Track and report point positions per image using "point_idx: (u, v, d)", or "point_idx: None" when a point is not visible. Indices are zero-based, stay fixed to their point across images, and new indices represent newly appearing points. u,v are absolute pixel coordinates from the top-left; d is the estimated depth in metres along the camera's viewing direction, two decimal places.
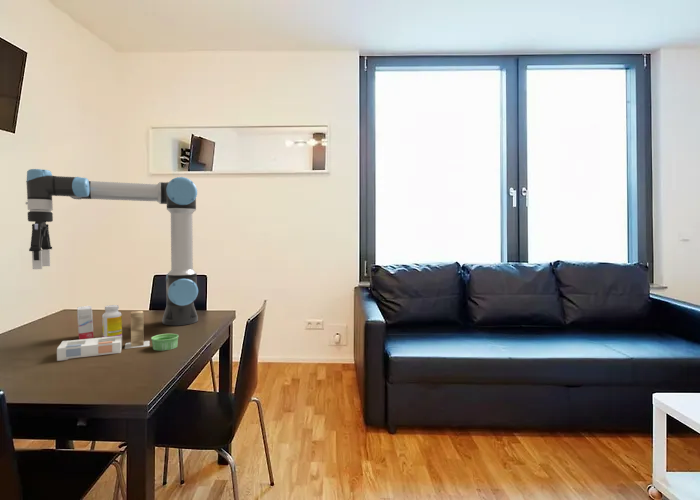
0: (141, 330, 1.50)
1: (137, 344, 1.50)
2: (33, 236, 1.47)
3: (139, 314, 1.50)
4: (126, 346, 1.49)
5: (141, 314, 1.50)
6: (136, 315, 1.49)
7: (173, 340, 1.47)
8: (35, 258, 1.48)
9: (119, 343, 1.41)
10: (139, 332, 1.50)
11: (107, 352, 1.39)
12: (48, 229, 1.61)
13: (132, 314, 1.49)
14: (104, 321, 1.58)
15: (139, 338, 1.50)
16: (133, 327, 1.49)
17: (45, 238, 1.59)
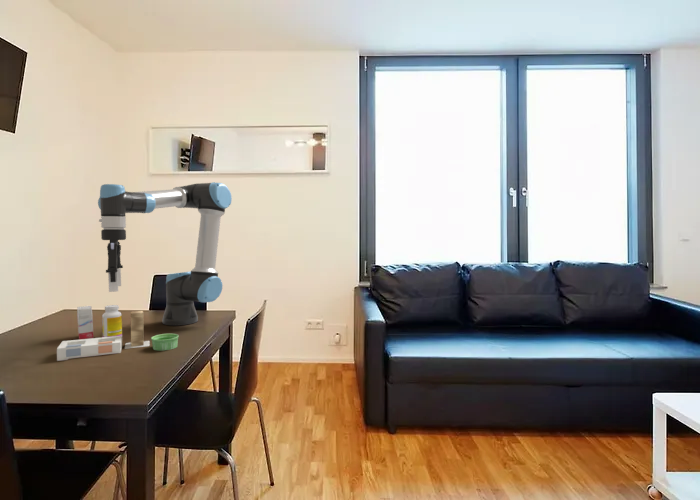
0: (141, 330, 1.50)
1: (137, 344, 1.50)
2: (110, 256, 1.38)
3: (139, 314, 1.50)
4: (126, 346, 1.49)
5: (141, 314, 1.50)
6: (136, 315, 1.49)
7: (173, 340, 1.47)
8: (112, 280, 1.38)
9: (119, 343, 1.41)
10: (139, 332, 1.50)
11: (107, 352, 1.39)
12: None
13: (132, 314, 1.49)
14: (104, 321, 1.58)
15: (139, 338, 1.50)
16: (133, 327, 1.49)
17: (117, 257, 1.49)
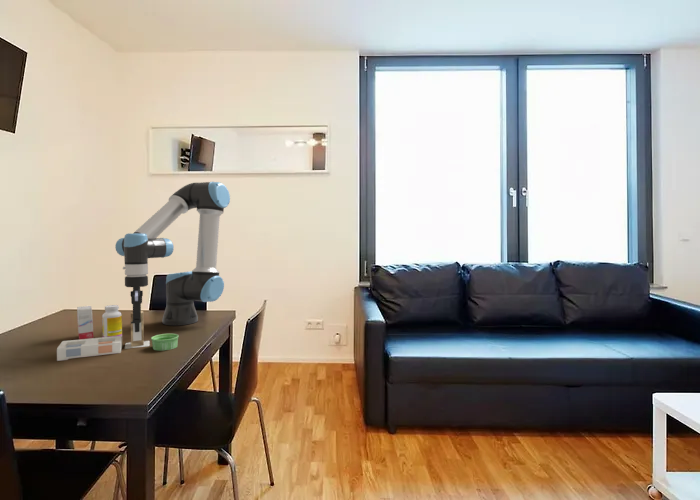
0: (141, 330, 1.50)
1: (137, 344, 1.50)
2: (134, 309, 1.45)
3: None
4: (126, 346, 1.49)
5: (141, 314, 1.50)
6: None
7: (173, 340, 1.47)
8: (136, 330, 1.48)
9: (119, 343, 1.41)
10: None
11: (107, 352, 1.39)
12: None
13: (132, 314, 1.49)
14: (104, 321, 1.58)
15: None
16: None
17: None
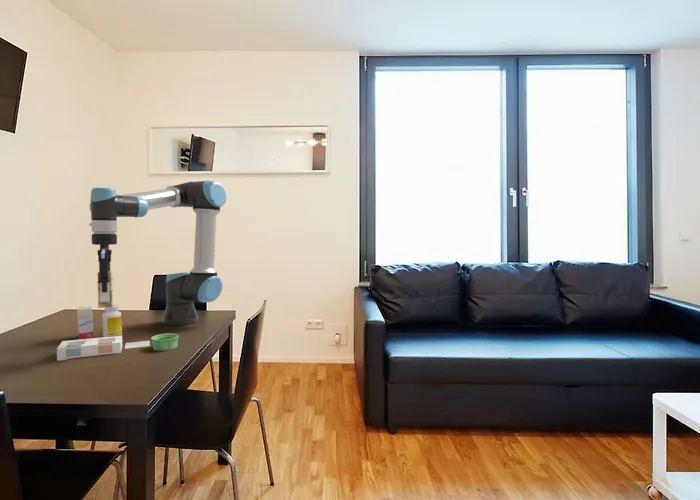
0: (109, 291, 1.42)
1: (105, 306, 1.41)
2: (101, 267, 1.37)
3: None
4: (126, 346, 1.49)
5: (109, 274, 1.41)
6: None
7: (173, 340, 1.47)
8: (103, 290, 1.39)
9: (119, 343, 1.41)
10: None
11: (107, 352, 1.39)
12: None
13: None
14: (104, 321, 1.58)
15: None
16: None
17: None
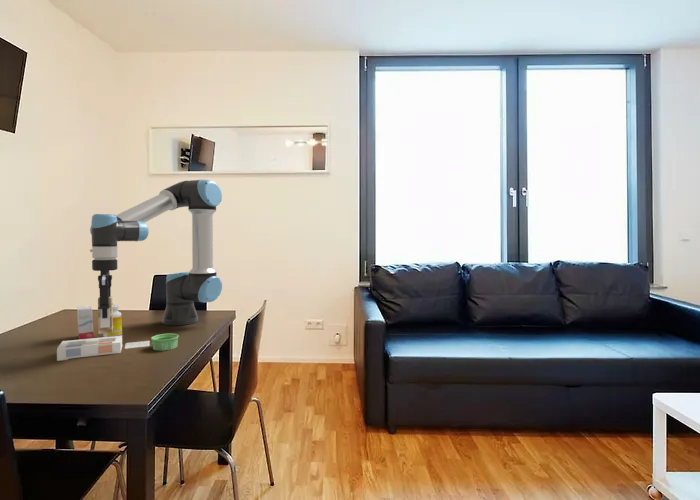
0: None
1: (105, 331, 1.41)
2: (101, 293, 1.37)
3: None
4: (126, 346, 1.49)
5: (109, 299, 1.42)
6: None
7: (173, 340, 1.47)
8: (103, 316, 1.40)
9: (119, 343, 1.41)
10: None
11: (107, 352, 1.39)
12: None
13: (99, 299, 1.40)
14: None
15: None
16: None
17: (108, 289, 1.44)
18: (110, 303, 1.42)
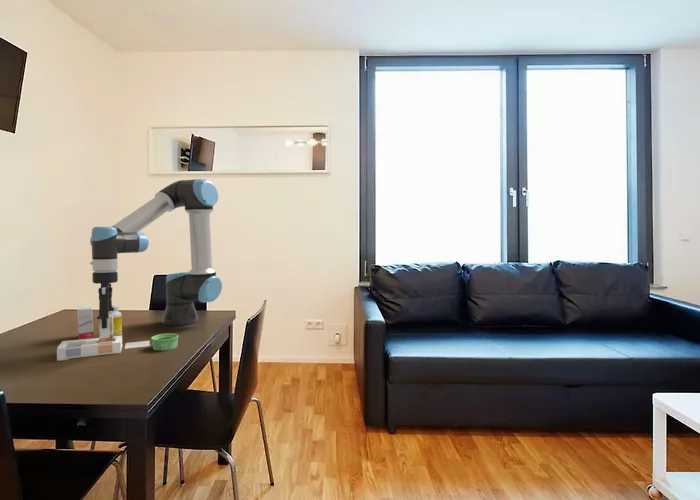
0: (110, 335, 1.42)
1: None
2: (101, 303, 1.36)
3: None
4: (126, 346, 1.49)
5: (110, 318, 1.42)
6: None
7: (174, 340, 1.47)
8: (103, 326, 1.36)
9: (119, 343, 1.41)
10: (108, 337, 1.42)
11: (107, 352, 1.39)
12: None
13: None
14: None
15: None
16: None
17: None
18: (111, 322, 1.42)
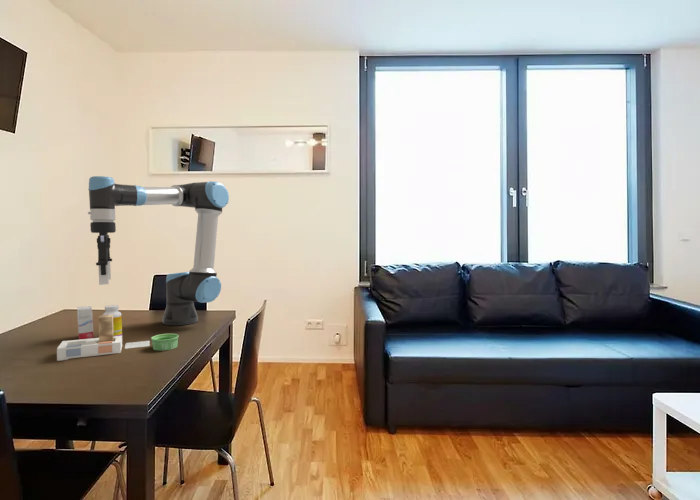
0: (110, 335, 1.42)
1: None
2: (100, 249, 1.37)
3: (108, 318, 1.42)
4: (126, 346, 1.49)
5: (110, 318, 1.42)
6: (105, 319, 1.41)
7: (173, 340, 1.47)
8: (102, 273, 1.37)
9: (119, 343, 1.41)
10: (108, 337, 1.42)
11: (107, 352, 1.39)
12: None
13: (100, 318, 1.41)
14: None
15: None
16: (102, 332, 1.41)
17: (107, 250, 1.48)
18: (111, 322, 1.42)
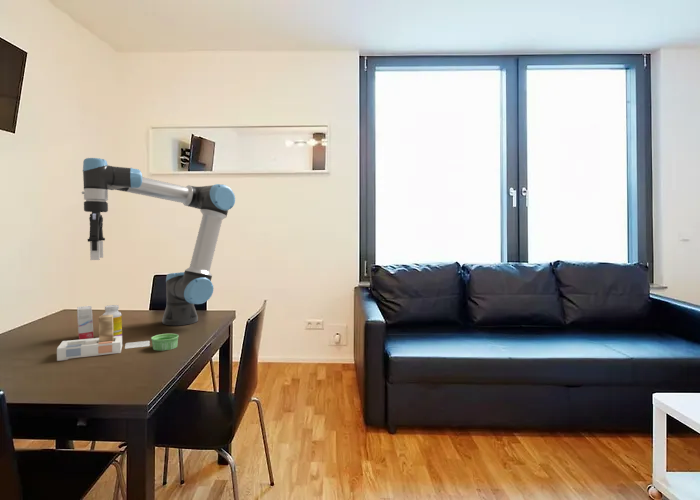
0: (110, 335, 1.42)
1: None
2: (91, 226, 1.44)
3: (108, 318, 1.42)
4: (126, 346, 1.49)
5: (110, 318, 1.42)
6: (105, 319, 1.41)
7: (173, 340, 1.47)
8: (93, 248, 1.45)
9: (119, 343, 1.41)
10: (108, 337, 1.42)
11: (107, 352, 1.39)
12: None
13: (100, 318, 1.41)
14: None
15: None
16: (102, 332, 1.41)
17: (99, 229, 1.56)
18: (111, 322, 1.42)
